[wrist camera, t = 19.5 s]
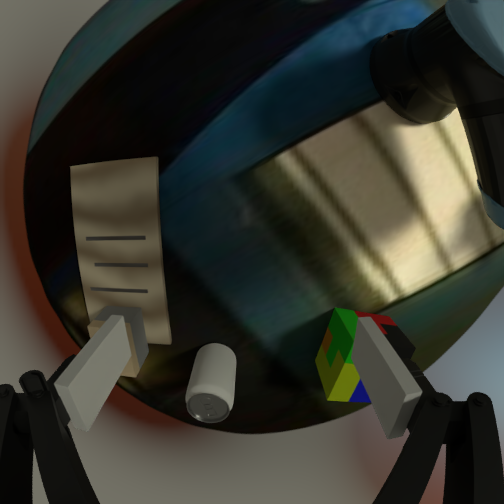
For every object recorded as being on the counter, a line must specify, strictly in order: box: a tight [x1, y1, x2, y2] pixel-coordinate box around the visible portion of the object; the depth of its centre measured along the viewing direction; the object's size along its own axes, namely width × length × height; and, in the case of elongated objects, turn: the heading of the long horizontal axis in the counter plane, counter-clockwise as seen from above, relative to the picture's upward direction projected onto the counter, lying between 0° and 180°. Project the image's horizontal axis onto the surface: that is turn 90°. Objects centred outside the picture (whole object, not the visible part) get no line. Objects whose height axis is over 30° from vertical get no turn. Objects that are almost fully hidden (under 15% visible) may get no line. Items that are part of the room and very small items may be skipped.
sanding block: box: [87, 306, 149, 377], centre depth 41 cm, size 8×6×7 cm
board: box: [70, 157, 172, 344], centre depth 42 cm, size 28×14×1 cm, turn 0°
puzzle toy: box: [315, 308, 416, 402], centre depth 41 cm, size 10×10×10 cm
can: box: [186, 343, 236, 423], centre depth 41 cm, size 6×6×12 cm
